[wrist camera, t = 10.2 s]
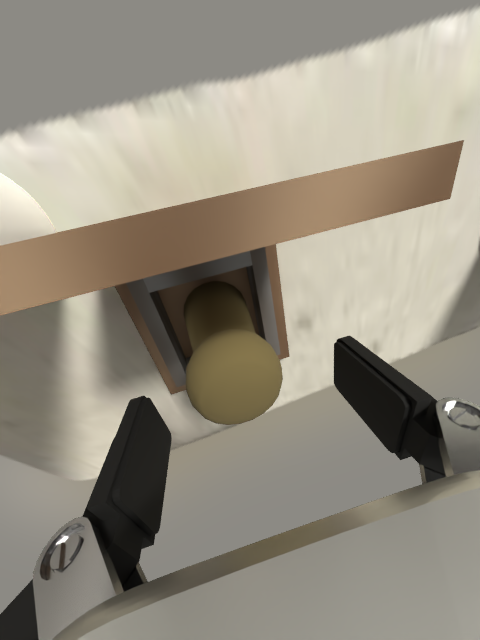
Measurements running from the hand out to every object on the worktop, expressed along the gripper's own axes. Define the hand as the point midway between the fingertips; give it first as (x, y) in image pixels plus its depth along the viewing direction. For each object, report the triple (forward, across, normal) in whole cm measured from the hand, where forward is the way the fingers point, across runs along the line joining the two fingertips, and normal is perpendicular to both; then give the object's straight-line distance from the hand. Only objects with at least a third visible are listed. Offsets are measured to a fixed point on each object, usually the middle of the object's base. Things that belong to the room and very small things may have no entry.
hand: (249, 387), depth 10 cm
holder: (+11, +1, 0) cm, 11 cm away
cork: (+11, +1, 0) cm, 11 cm away
